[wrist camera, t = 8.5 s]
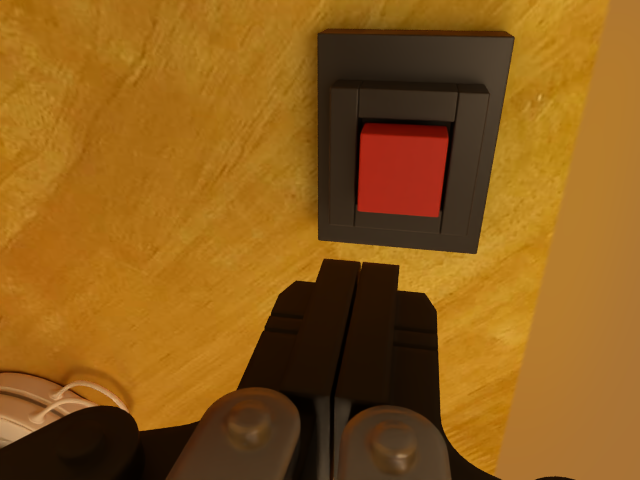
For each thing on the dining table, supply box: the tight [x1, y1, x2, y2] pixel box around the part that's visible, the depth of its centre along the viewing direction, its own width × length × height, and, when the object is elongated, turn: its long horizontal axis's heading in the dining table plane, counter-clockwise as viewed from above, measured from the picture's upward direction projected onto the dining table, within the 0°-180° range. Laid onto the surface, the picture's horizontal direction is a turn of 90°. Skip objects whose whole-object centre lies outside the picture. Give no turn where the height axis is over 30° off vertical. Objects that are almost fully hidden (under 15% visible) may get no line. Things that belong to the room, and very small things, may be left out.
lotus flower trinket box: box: [0, 373, 130, 449], centre depth 38 cm, size 7×16×20 cm
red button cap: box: [357, 122, 449, 217], centre depth 20 cm, size 3×3×2 cm
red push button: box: [318, 29, 515, 254], centre depth 22 cm, size 10×8×4 cm
